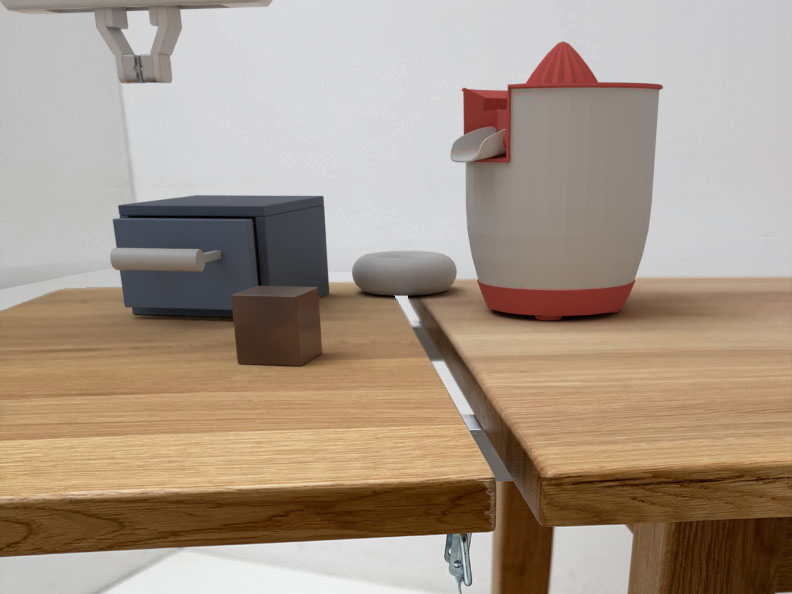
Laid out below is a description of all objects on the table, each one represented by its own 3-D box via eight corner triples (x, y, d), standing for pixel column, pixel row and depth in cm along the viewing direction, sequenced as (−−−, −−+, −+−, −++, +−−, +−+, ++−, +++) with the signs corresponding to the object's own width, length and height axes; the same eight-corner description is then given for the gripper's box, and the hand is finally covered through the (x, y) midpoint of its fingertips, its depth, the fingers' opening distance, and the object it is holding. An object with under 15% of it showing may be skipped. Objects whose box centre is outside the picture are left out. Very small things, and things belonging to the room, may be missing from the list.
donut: (371, 284, 104) (337, 296, 95) (370, 248, 102) (336, 257, 93) (467, 287, 101) (442, 299, 93) (467, 250, 100) (441, 259, 91)
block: (237, 363, 67) (230, 294, 66) (262, 351, 71) (256, 285, 69) (300, 366, 67) (295, 296, 65) (322, 353, 70) (318, 286, 69)
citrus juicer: (411, 309, 88) (403, 44, 80) (568, 292, 97) (577, 51, 88) (518, 335, 76) (523, 27, 68) (687, 313, 85) (710, 37, 76)
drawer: (229, 321, 77) (220, 225, 75) (92, 317, 80) (78, 224, 77) (311, 288, 94) (306, 208, 91) (196, 285, 96) (187, 207, 93)
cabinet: (272, 318, 84) (263, 206, 80) (132, 314, 86) (117, 204, 83) (329, 293, 97) (323, 195, 93) (206, 290, 99) (195, 195, 96)
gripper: (-52, -154, 67) (-9, 83, 73) (240, -174, 63) (260, 78, 69) (6, -132, 73) (41, 87, 79) (277, -149, 69) (293, 82, 75)
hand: (146, 83), depth 74 cm, fingers closed
